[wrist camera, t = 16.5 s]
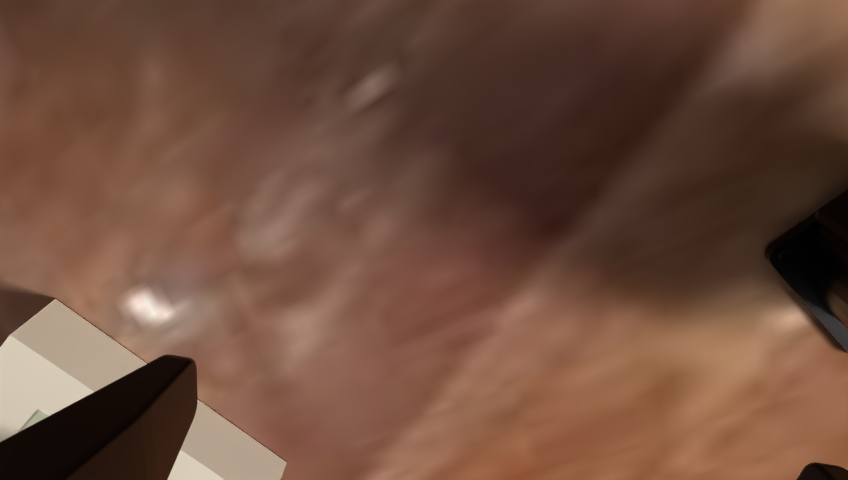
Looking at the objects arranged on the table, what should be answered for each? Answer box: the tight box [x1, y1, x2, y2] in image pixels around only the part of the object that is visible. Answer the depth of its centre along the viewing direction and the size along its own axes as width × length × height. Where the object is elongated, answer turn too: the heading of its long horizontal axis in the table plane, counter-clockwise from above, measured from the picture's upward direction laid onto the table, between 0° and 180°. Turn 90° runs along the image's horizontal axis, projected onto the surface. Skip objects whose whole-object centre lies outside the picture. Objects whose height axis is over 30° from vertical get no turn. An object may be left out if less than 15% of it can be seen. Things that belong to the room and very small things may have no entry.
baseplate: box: [0, 299, 287, 480], centre depth 25 cm, size 12×12×3 cm
